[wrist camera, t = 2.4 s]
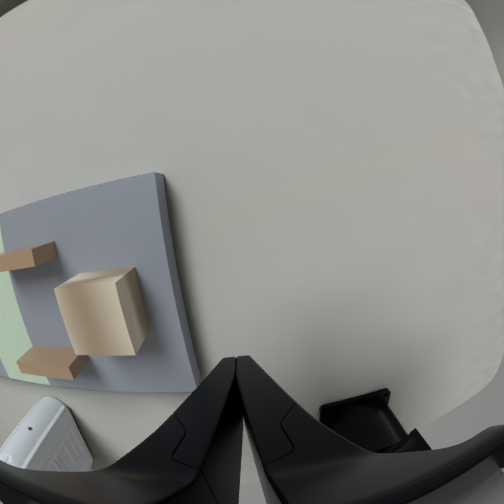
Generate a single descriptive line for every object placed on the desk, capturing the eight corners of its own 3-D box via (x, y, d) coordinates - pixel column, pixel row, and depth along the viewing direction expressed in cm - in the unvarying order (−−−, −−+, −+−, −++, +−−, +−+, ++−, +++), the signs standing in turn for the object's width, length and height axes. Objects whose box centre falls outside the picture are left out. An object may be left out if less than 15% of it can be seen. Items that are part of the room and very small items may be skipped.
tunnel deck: (163, 174, 16) (139, 168, 12) (200, 374, 19) (193, 416, 15) (-52, 237, 15) (-80, 245, 11) (-15, 361, 18) (-36, 380, 14)
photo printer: (36, 390, 19) (-23, 467, 7) (68, 399, 19) (11, 491, 7) (68, 452, 21) (35, 524, 9) (98, 462, 21) (69, 541, 9)
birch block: (134, 266, 15) (115, 282, 12) (150, 329, 16) (135, 355, 13) (79, 273, 15) (53, 288, 12) (95, 332, 16) (75, 354, 13)
